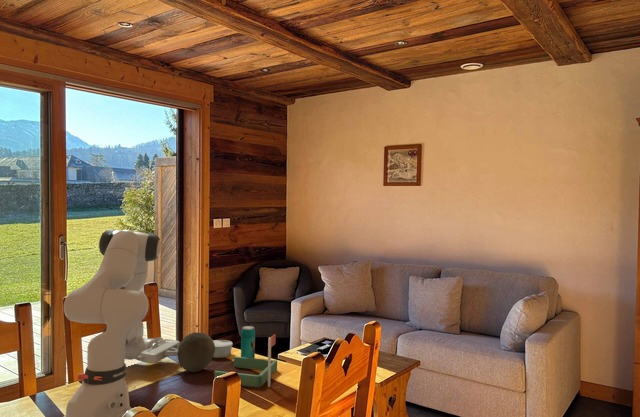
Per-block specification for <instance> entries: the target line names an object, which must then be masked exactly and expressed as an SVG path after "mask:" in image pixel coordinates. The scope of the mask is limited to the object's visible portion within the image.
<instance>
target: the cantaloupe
mask: <svg viewBox="0 0 640 417" xmlns="http://www.w3.org/2000/svg"><path fill="white" fill-rule="evenodd" d="M213 341H214V340H213V339H212V337H211V336H210V335H208V334H206V333H204V332H197V331H196V332H191V333H189V334H187V335H185V336H184V337H183V339H182V340H181V341H180V345H179V347H178V356H177V360H178V363H179V365H180V367H181V368H182V369H183V370H184V371H187V372H189V373H193V374H194V373H198V372H200V371H202V370H205V368H206V367H208V365H210V363H211V362H212V360H213V358H214V357H213V356H214V352H215V344H214V342H213Z"/></svg>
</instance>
